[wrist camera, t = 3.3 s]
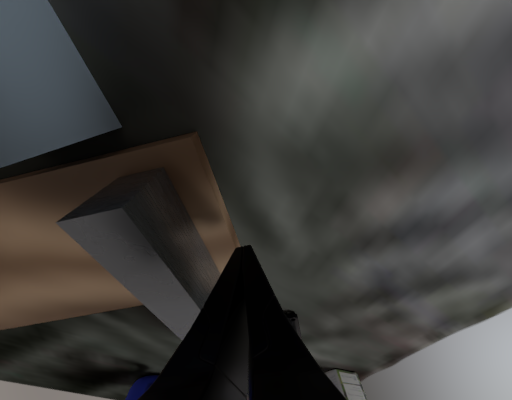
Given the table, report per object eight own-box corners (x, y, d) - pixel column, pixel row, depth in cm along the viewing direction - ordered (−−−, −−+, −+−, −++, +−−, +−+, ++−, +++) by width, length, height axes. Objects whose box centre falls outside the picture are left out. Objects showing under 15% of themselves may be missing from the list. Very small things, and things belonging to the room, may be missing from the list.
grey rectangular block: (225, 283, 14) (220, 336, 11) (196, 289, 14) (183, 342, 11) (163, 166, 9) (122, 208, 6) (118, 177, 9) (55, 222, 6)
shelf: (250, 272, 16) (253, 367, 10) (-28, 323, 18) (-143, 423, 12) (196, 131, 9) (132, 191, 4) (-231, 236, 11) (-647, 368, 6)
